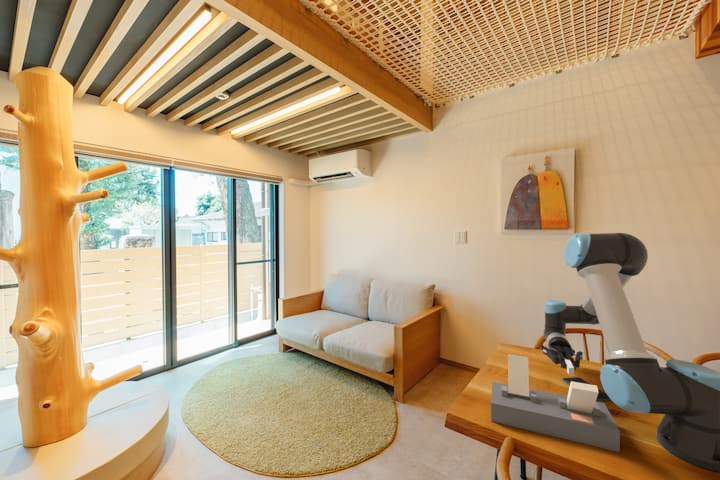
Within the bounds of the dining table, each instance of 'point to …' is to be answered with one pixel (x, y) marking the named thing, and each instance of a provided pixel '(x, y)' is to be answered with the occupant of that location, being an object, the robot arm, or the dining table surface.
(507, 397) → the switch unit
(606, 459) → the dining table surface
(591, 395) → the lever
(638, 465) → the dining table surface
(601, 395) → the phone
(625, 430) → the dining table surface
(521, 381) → the lever
